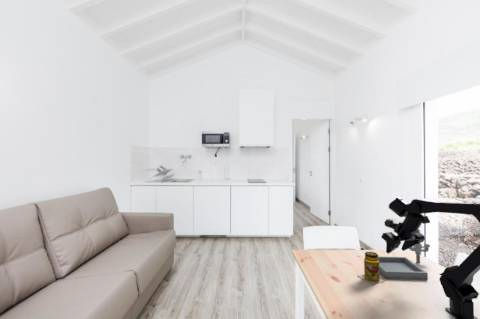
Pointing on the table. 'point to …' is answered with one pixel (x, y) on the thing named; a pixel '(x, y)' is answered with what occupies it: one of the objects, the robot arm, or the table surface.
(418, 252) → the mechanical component
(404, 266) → the tray
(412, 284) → the table surface
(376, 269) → the condiment
